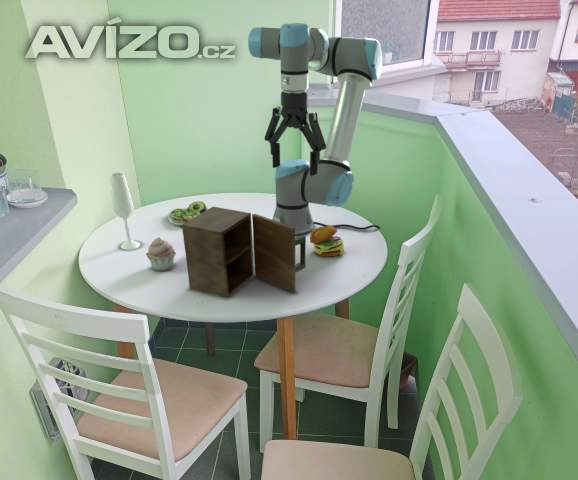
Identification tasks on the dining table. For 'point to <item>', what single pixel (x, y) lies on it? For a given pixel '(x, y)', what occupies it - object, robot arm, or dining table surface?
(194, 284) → the cupboard
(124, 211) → the champagne flute
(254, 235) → the cupboard door
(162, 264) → the cupcake
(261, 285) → the dining table surface
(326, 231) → the cheeseburger
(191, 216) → the plate of green donuts
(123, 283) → the dining table surface
